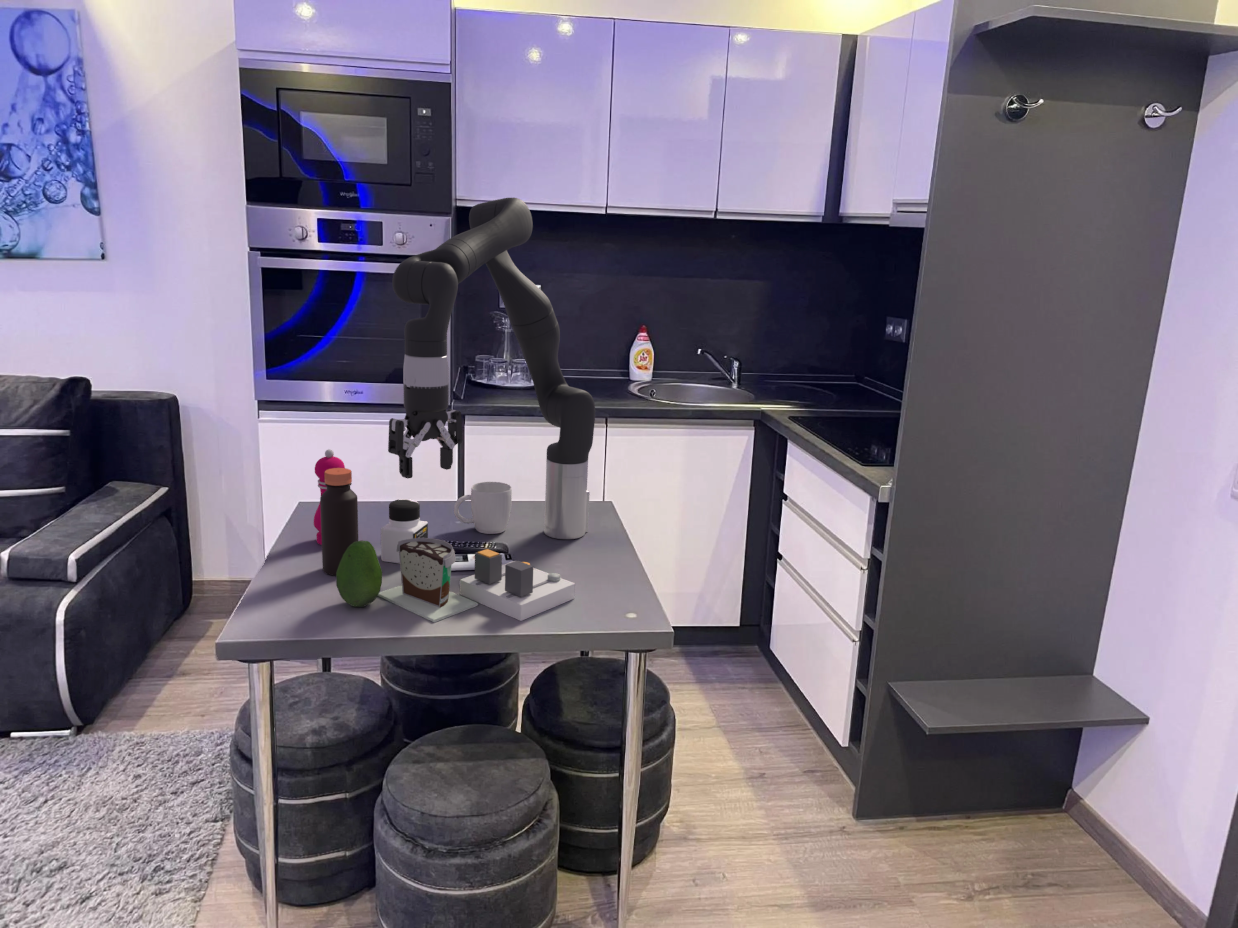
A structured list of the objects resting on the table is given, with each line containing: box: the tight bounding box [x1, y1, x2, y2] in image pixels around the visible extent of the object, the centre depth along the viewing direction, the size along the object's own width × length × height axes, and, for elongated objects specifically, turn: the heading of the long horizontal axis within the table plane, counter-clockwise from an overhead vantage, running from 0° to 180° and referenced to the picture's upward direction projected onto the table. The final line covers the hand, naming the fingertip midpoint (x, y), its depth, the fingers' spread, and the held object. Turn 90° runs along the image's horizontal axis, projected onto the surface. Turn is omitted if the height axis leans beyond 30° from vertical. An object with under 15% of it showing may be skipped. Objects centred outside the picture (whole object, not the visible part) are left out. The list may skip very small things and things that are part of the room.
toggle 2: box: [505, 560, 534, 597], centre depth 160 cm, size 3×4×5 cm
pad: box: [377, 584, 479, 623], centre depth 163 cm, size 10×16×1 cm, turn 51°
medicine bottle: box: [380, 498, 429, 564], centre depth 181 cm, size 7×7×12 cm
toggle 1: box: [474, 548, 503, 585], centre depth 165 cm, size 3×4×5 cm
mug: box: [453, 481, 513, 535], centre depth 200 cm, size 13×9×10 cm
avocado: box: [335, 539, 383, 608], centre depth 158 cm, size 8×8×12 cm
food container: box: [397, 537, 457, 608], centre depth 163 cm, size 12×6×10 cm, turn 57°
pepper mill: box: [313, 448, 346, 546], centre depth 187 cm, size 7×7×20 cm
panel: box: [459, 560, 576, 622], centre depth 166 cm, size 14×16×4 cm
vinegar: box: [319, 467, 359, 577], centre depth 172 cm, size 7×7×20 cm
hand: (426, 472), depth 157 cm, fingers open, 8 cm apart
